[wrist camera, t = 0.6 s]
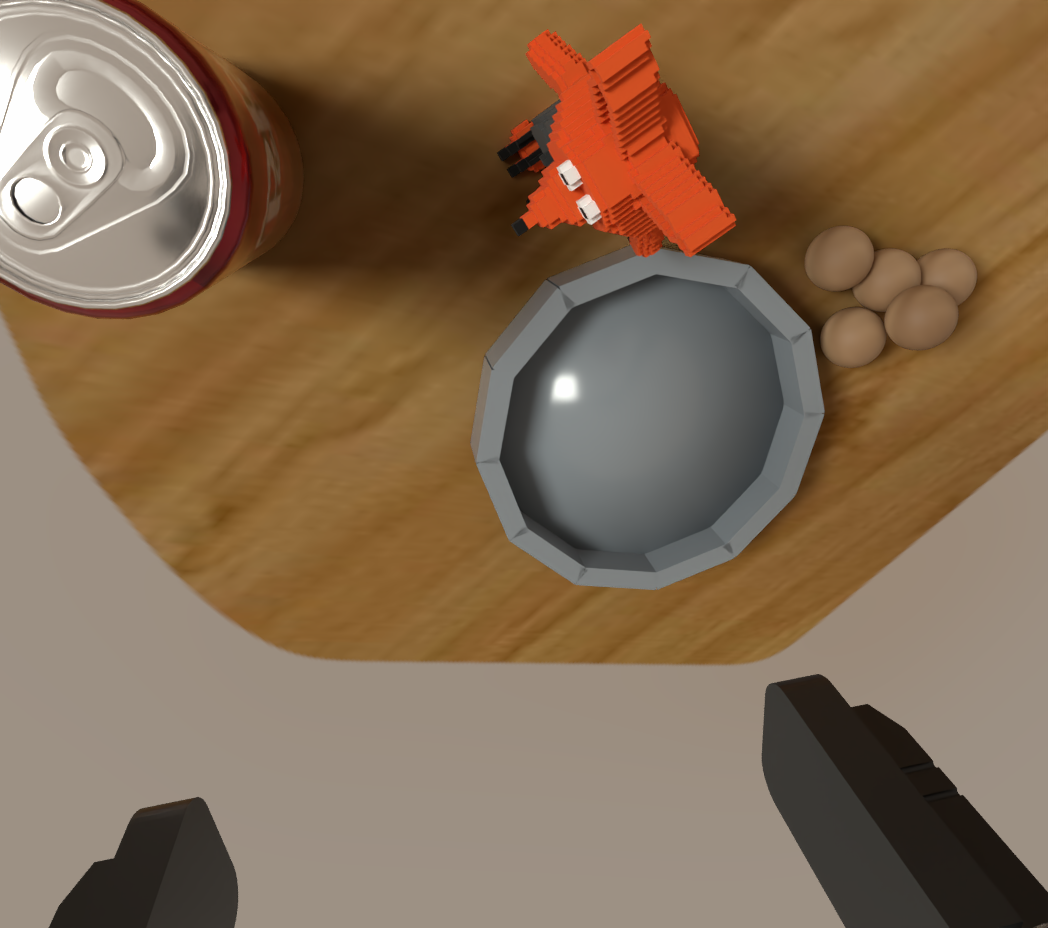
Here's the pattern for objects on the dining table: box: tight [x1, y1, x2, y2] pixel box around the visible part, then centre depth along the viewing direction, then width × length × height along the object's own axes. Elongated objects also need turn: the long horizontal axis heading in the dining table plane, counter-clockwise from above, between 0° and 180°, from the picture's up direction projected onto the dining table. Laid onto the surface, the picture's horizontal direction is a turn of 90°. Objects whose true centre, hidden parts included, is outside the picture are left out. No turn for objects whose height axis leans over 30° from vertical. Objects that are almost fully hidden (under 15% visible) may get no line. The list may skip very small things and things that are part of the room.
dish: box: [470, 245, 825, 590], centre depth 32 cm, size 16×16×2 cm
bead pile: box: [805, 226, 977, 368], centre depth 30 cm, size 7×8×5 cm
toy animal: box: [497, 24, 736, 258], centre depth 23 cm, size 8×6×12 cm
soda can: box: [0, 0, 304, 319], centre depth 21 cm, size 7×7×12 cm
